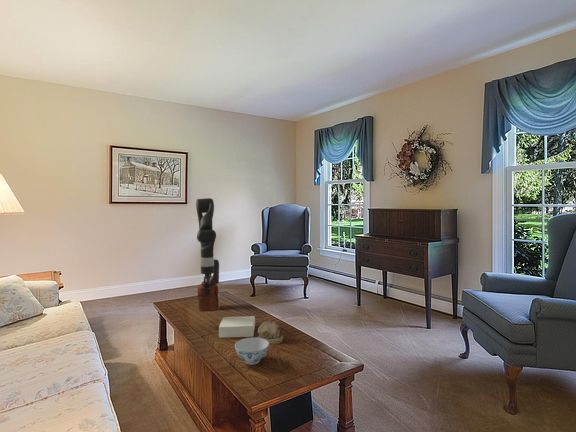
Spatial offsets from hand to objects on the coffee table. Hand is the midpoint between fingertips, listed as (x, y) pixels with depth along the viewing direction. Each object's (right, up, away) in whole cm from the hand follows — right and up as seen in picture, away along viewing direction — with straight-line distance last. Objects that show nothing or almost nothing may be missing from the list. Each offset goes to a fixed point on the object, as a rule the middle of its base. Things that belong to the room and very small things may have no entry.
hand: (208, 293), depth 193 cm
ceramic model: (+36, -19, -20) cm, 46 cm away
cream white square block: (+18, -19, -8) cm, 28 cm away
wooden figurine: (0, -10, 0) cm, 10 cm away
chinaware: (+30, -20, -44) cm, 57 cm away
